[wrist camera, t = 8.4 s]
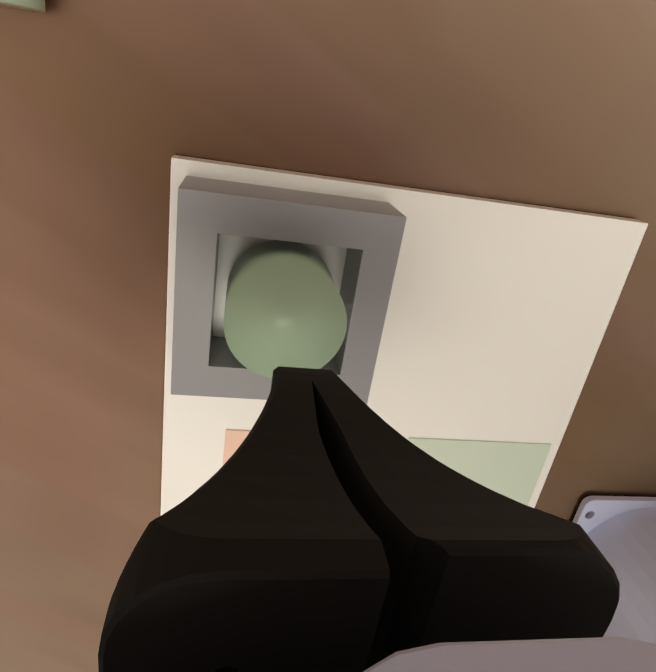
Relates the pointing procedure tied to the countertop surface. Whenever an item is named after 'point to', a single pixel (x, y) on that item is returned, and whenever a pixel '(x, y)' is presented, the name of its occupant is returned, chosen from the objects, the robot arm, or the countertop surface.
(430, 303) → the white sorting board
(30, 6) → the sage marker lying
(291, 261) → the button
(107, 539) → the countertop surface
